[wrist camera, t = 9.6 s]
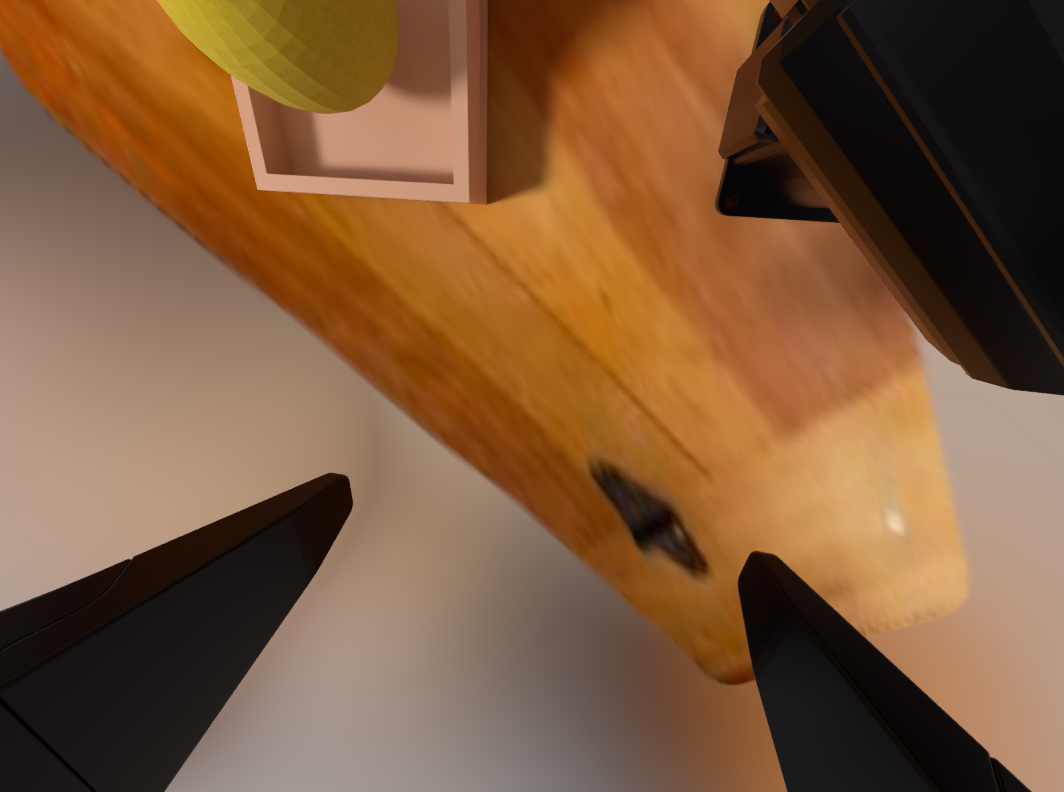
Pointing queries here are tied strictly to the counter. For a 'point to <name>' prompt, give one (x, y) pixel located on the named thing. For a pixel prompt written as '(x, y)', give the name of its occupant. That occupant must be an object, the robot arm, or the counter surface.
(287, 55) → the lemon
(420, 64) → the dish
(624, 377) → the counter surface
